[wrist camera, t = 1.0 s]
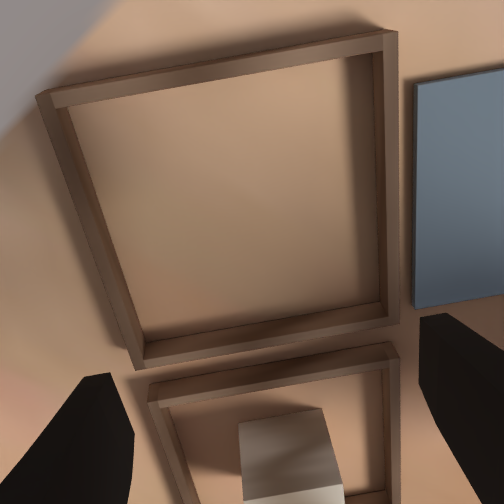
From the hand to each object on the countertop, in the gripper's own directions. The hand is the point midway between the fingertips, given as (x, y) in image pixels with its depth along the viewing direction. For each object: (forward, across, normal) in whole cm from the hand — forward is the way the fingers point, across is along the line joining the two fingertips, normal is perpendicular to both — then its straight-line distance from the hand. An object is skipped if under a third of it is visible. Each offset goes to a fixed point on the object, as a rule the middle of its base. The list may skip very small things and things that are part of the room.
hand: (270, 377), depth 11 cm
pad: (+9, -10, +1) cm, 14 cm away
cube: (+10, 0, +14) cm, 17 cm away
